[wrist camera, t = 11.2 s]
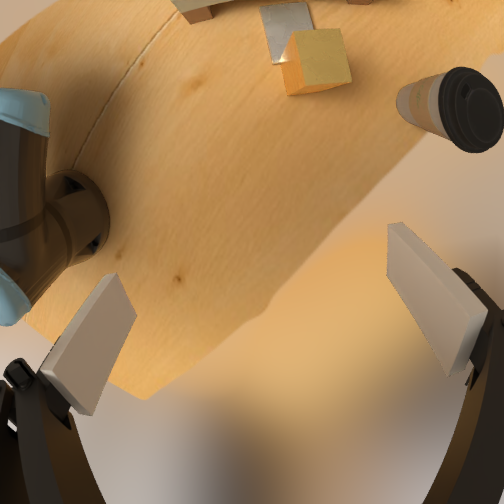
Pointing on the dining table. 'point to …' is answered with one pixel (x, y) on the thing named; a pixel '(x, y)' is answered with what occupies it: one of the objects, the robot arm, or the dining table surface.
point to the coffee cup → (455, 108)
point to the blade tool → (304, 49)
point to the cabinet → (198, 3)
